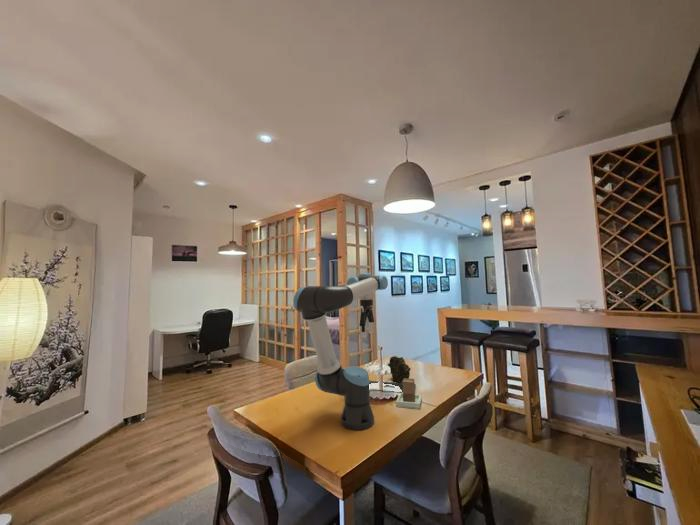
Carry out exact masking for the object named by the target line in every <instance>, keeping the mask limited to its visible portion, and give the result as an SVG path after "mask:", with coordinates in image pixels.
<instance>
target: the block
mask: <svg viewBox="0 0 700 525" xmlns="http://www.w3.org/2000/svg"><path fill="white" fill-rule="evenodd" d="M415 384H416V383H415V378H409V379H408V378H404V379H403V381H402V385H403V401H405V402H415V394H416V389H415Z"/></svg>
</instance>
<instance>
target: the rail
mask: <svg viewBox="0 0 700 525" xmlns="http://www.w3.org/2000/svg"><path fill="white" fill-rule="evenodd" d="M369 381H370V383H369V384H371V383H378V382H379V381H380V380H371V379H369ZM383 383H384V384H392V385H395V386H399V387H400V389H401V390H402V392H403V385H402V383H400V382H396V381H395V382H393V381H392V382H391V381H383ZM416 389H417V385H416V383H415V390H416Z"/></svg>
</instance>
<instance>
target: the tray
mask: <svg viewBox="0 0 700 525" xmlns="http://www.w3.org/2000/svg"><path fill="white" fill-rule="evenodd" d="M422 399H423V398H422V394H416V393H415V402H405V401H403V393H398V396H397V398H396V401H395V404H396V407H397V408H406V409H413V410H414V409H415V410H421V404H422Z"/></svg>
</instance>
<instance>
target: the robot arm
mask: <svg viewBox="0 0 700 525" xmlns="http://www.w3.org/2000/svg"><path fill="white" fill-rule="evenodd" d="M388 283H389V282H388V278H387V276H386V275H372V273H370V272H366V273H365V272H363V273H359V275H358V276H350V277H349V278H348V279H347V281H346V284H341V285H318V286H317V285H315V286H310V285H307V286H302V287H300V288H298V289H297V290H296V291H295V293H294V296H293V307H294V309H295V310H296V311H297V313H298V312H299V313H301V316H302V319H303V321H306V323H307V325H308V329H309V332H310V336H311V340H312V344H313V346H314V351H315V354H316V357H317V361H318V366H317V370H316V371H315V377H314V380H315V381H314V382H315V385H316V387H317V388H318V390H320V391H322V392H324V393H327V394H333V395H337V396H342V397H344V399H343V400H344V405H343V408H342V413H341V416H340V424H341V426H343V427H344V428H346V429H347V430H351V431H361V430H366V429H369V428H371V427H373V425H374V424H375V415H374V412H373V409H372V406H371V400H370V399H371V396H370V395H371V394H370V391H371V390H369V383H370V381H369V380H370V375H369V372H368V371H367V370H366V369H365V368H364V367H360V366H354V365H351V366H350V365H349V366H346V367H344V368H343V366H342V362H341V361H340V360H339V359H337V356H336V352H335V349H334V344H333V340H332V337H331V333H330V330H329V329H330V328H329V325H328V321H327V318H326V315H327V314H328V313H333V312H335V311H337V310H340V309H343V308H345V307H348V306H350V305H351V304H352V303H353V301H356V300H358V299H360V300H359V306H361V307H362V308H360V316H359V317H360V318H359V327H360V329H361V330H360V333H361V338H362V339H363V338H364V339H366V338H367V327H368V334H374V323H375V318H374V312H373V305H374V304H373V303H374V300H373V296H374V293H373V292H376V291H381V290H386V289H387V288H388V285H389V284H388ZM367 320H368V326H366V325H367Z"/></svg>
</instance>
